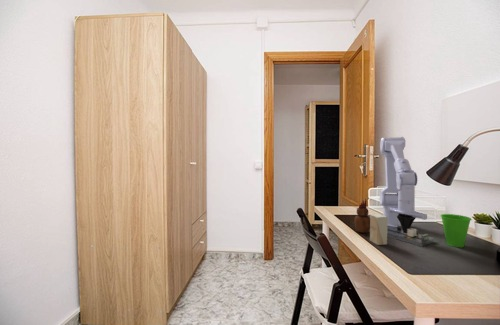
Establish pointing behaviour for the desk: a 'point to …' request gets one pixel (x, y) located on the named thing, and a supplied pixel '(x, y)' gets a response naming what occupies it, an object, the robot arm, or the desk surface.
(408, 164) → the robot arm
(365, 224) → the wooden figurine
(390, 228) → the console
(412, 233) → the fader
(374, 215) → the box
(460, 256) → the desk surface
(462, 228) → the cup
